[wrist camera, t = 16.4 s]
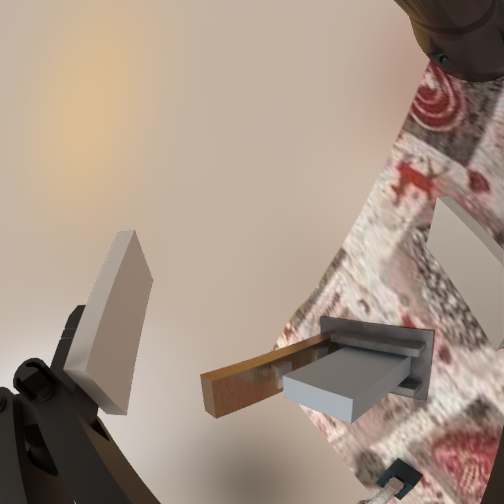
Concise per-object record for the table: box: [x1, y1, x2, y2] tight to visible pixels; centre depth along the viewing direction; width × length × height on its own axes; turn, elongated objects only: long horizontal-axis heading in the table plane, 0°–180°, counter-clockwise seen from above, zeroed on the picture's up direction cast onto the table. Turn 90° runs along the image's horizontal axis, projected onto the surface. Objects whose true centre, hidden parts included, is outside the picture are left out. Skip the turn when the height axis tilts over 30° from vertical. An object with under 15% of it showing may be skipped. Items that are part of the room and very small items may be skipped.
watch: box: [357, 458, 423, 504], centre depth 31 cm, size 6×8×11 cm
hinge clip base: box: [200, 316, 435, 418], centre depth 34 cm, size 10×19×22 cm, turn 96°
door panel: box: [283, 345, 411, 423], centre depth 35 cm, size 3×11×14 cm, turn 96°
